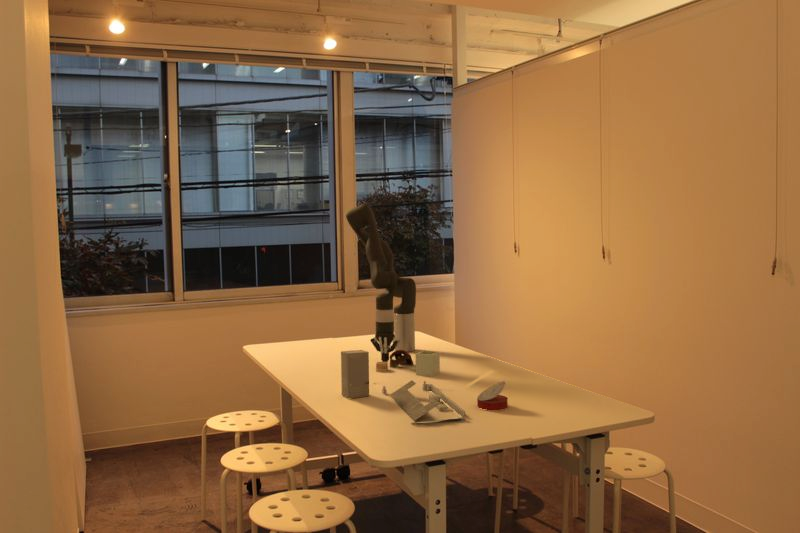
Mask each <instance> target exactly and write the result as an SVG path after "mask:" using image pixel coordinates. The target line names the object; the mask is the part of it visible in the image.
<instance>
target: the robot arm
mask: <svg viewBox="0 0 800 533" xmlns="http://www.w3.org/2000/svg"><path fill="white" fill-rule="evenodd" d="M345 218H346V220H347V223H348V224H349V226H350V228H351V229H352V231H353V232H354V233H355V235H356V236H357V237H358V239H359V240H360V241H361V243H362V244H363V246H364V247H365V256H366V258H367V261H368V263H369V268H370V282H371V285H372V287H373V288H374V289H376V290H382V289H383V290H384V292H383V293H380V294H378V295H377V296H375V334H374V337H373V338H371V339H370V342H371V344H372V345H373V347H374V348H375V349H376V351H377V352H380V353H381V354H380V356H381V357H380V358H381V362H388V363H389V362H390V353H391V352H392V353H393V352H395V351H397V350H405V351H406V352H407V353H409V352H414V351H415V350H416V343H415V342H416V335H415V332H416V331H415V308H416V302H417V300H416V297H417V285H416V282H415V279H413V278H412V277H402V276H401V277H400V276H399V275H398V274H397V272H396V270H395V268H394V262H395V256H394V252H393V250H392V249H391V247H390V246H389V244H388V243H387V241H385V240H383V239H382V238H380V235H379V231H378V230H379V229H378V225H377V220H376V216H375V214H374V211H373V209H372V207H371V206H370V205H369V204H368V203H366V202H365V203H364V202H363V203H361V204H359V205H357V206H355V207H354V208H353V207H352V208H351V209H349V210H347V211H346V212H345ZM367 226H368V231H367V230H366V229H364V228H365V227H367ZM394 297H395V298H398V299H399V298H400V299H401V300H400V301H401V302H400V304H398V305H395V306H394Z"/></svg>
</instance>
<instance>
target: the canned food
mask: <svg viewBox="0 0 800 533" xmlns="http://www.w3.org/2000/svg"><path fill="white" fill-rule="evenodd" d="M505 384H506V382H505V381H500V382H499V381H498V382H497V383H496V384H493V385H491V386H490V387H488V388H486V389H484V390H483V391H482V392H480V393H479V395H478V396H477V398H476V399H477V400H476V401H477V402H476V403H477V406H478V407H479V408H482V409H487V410H486V411H488V410H498V411H500V410H499V409H504V410H506V409H508V408H507V407H509V405H508V404H509V403H508V397H507V396H505V395H502V394H501V393H502V391H503V389H504V388H505ZM478 407H477V408H478ZM479 408H478V409H479ZM505 408H506V409H505ZM482 409H481V410H482Z"/></svg>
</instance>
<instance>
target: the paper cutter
mask: <svg viewBox="0 0 800 533" xmlns="http://www.w3.org/2000/svg"><path fill="white" fill-rule="evenodd" d="M416 384H417V382H415V381H414V380H413V379H411V380H410V381H408V382H407V383H405V384H404V385H403V386H401V387H400V388H398V389H396V390H395V391H393V392H392V393H390V397H392V398H393V400H394V402H396V403H397V404H398V405H399V406H400V407H401V409H403V411H404V412H405V413H407V414H408V415H409V416H410V418H411V419H412V420H413V421H414V422H412V424H416V423H417V424H429V423H437V422H442V421H443V420H444V419H438V420H426V421H425V420H424V421H417V420H418V419H420V418H421V417H423V416H424V415H425V414H427V413H428V412H430V411H432V410H433V409H434V408H437V409H438V410H439V411H438V410H437V409H436V410H437V411H438V412H446V411H445V410H448V411H449V409H448V407H447V406H446V405H445V404H442V403H441V402H440V399H442V400H443V401H444V402H445V403H447V404H448V405H449V406H450V407H451V408H452V409H454V410H455V411H456V412H457V413H458V414H460V415H461V416H462V417H461V418H459V417H458V420H462V419H468V417H467V416H466V411H465V410H464V409H463V408H461V406H459V405H458V404H457V403H455V402H454V401H453V399H450V397H448V396H447V395H446V394H444V393H443V392H442V391H441V390H439V388H437V387H436V386H434V385H433V384H432V383H427V381H425V380H424V381H423V383H422V391H426V390H427V391H426V392H428V391H432V392H433V393H434V394H435V395H434V394H433V395H432V394H429V395H428V402H429V401H430V402H429V403H427V404H425V405H424V404H423V402H421V401H420V399H418V398H417V397H415V395H413V394H412V393H411V392H410V391H409V389H411V388H413V387H414V386H415V385H416ZM381 392H382V393H383V394H387V389H386V386H385V385H384V386H382V391H381ZM383 394H382V395H383ZM440 403H441V404H440ZM454 419H455V418H449V419H447V421H454ZM443 422H444V421H443Z"/></svg>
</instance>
